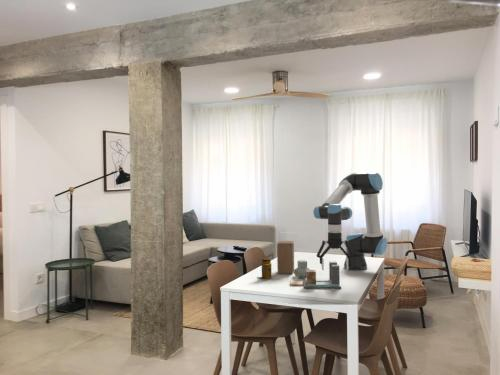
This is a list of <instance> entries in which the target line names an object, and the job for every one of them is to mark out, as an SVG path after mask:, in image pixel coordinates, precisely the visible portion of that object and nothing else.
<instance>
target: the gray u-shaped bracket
mask: <svg viewBox="0 0 500 375" xmlns="http://www.w3.org/2000/svg"><path fill="white" fill-rule="evenodd" d="M328 263H329V264H328V265H329V266H328V268H329V271H328V272H329V274H328V275H329V277H316V282H331V265H338V262H337V261H329V262H328ZM304 279H305V283H306V278H304Z"/></svg>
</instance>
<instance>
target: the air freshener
mask: <svg viewBox="0 0 500 375" xmlns="http://www.w3.org/2000/svg"><path fill="white" fill-rule="evenodd" d="M306 270H311V269H310V268H309V267H308V261H307V260H305V259H304V260H303V259H301V260H297V267H296V268H294V272H293V274H294V276H295V277H296V278H298V279H305V278H306Z"/></svg>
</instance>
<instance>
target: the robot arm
mask: <svg viewBox="0 0 500 375" xmlns="http://www.w3.org/2000/svg"><path fill="white" fill-rule="evenodd" d="M383 183H384V182H383V179H382V176H381V175H380V173H379V172H375V171H363V172H353V173H350V174H348V175H346V176H345V177H344V178H343V179H342V180H341V181H340V182H339V184H338V186H337V188H335V190H334V191H333V192H332V193H331V194H330V196H329V197H328V198H327V199H326V200H325V201H324V202H323V203H322V205H317V206H315V207H314V209H313V210H312V211H313V217H314V218H315V219H319V220H327V240H324V239H323V240H322V241H321V245H320V247H319V249H318V251H317V254H316V257H317V258H319V264H320V265H321V271H324V263H325V262H324V260H325V259H324V256H326V254H327V253H328V252H329V251H330V249H331V250H335V249H340V250H341V252H342V253H344V255H345V260H344V263H343V268H344V269H346V271H349V270H351V271H352V270H353V271H363V270H367V269H368V264H367V261H366V258H365V254H368V255H375V256H377V255H378V256H382V255H384V254H385V253H386V250H387V247H388V239H387V237H385V236H384V233H383V231H381V224H380V222H381V221H380V213H379V212H380V211H379V201H378V200H379V199H378V198H379V197H378V195H379V194H380V193H381V192H380V191H381V190H382V189H383V187H384V186H383V185H384V184H383ZM355 191H360V195H362V196H363V203H364V205H363V206H364V214H365V227H366V228H365V229H366V232H365V233H364V232H357V233H351V234H347V235H346V238H345V240H343V239H342V237H343V233H342V229H343V228H342V221H344V220H345V221H346V220H349V219H351V218H352V217H353V210H352V209H351V208H350V207H349V206H342V205H341V202H343V200H344V199H345V198H346V197H347V195H348V194H349V195H350V194H351V193H352V192H355ZM342 244H343V245H345V246H344V247H346V248H345V249H344V248H343V247H342ZM325 245H327V247H326V248H325V249H324V247H325ZM323 249H324V251H323ZM345 250H346V251H345Z"/></svg>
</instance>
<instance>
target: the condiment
mask: <svg viewBox="0 0 500 375" xmlns="http://www.w3.org/2000/svg"><path fill="white" fill-rule="evenodd" d="M261 262H262V263H261V276H258V277H257V276H256V279H258V280H260V281H264V280H265V281H266V280H274V279H275V278H274V277H272V273H273V272H272V260H271V258H266V257H264V258H262V259H261Z"/></svg>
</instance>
